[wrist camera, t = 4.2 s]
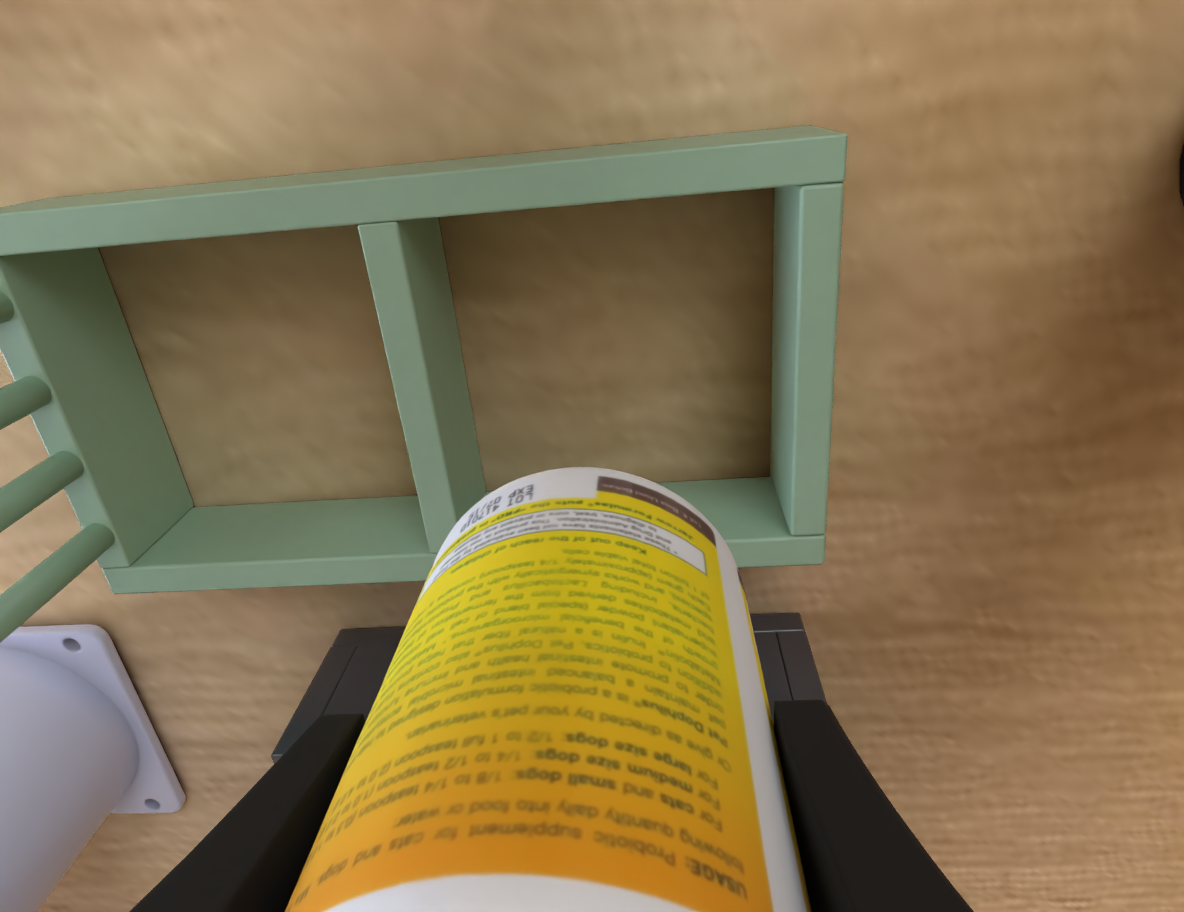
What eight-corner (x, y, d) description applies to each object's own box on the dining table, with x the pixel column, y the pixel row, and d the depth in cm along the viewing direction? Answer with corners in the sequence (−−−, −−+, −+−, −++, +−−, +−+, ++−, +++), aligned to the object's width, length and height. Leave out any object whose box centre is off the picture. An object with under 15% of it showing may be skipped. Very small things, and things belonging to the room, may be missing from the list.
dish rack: (178, 531, 21) (-14, 716, 15) (47, 198, 17) (-287, 262, 11) (800, 500, 20) (874, 693, 13) (813, 124, 16) (926, 152, 10)
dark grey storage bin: (425, 910, 29) (387, 1057, 24) (340, 628, 23) (269, 755, 18) (789, 911, 27) (816, 1065, 23) (799, 611, 21) (839, 744, 17)
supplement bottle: (379, 526, 13) (-179, 1469, 4) (662, 400, 12) (731, 1396, 3) (531, 735, 16) (372, 1669, 6) (787, 647, 14) (1057, 1685, 5)
